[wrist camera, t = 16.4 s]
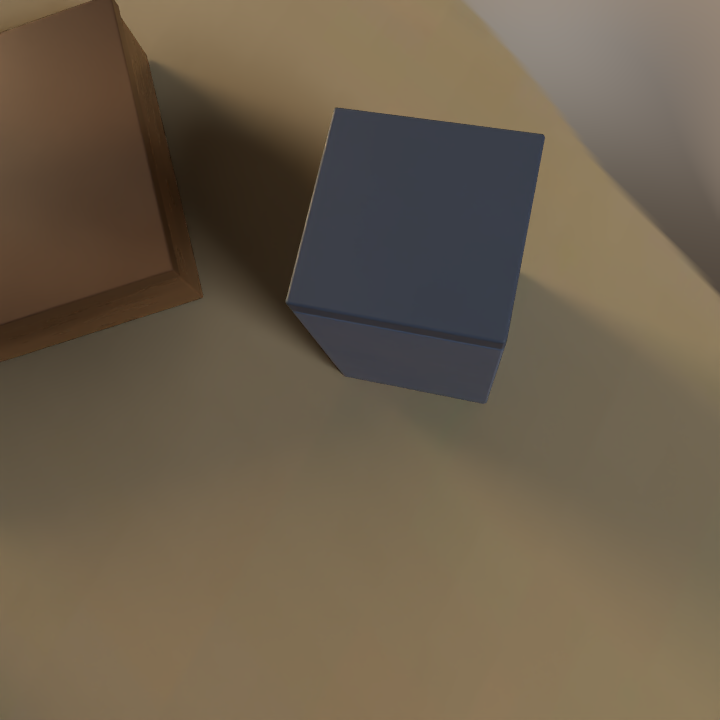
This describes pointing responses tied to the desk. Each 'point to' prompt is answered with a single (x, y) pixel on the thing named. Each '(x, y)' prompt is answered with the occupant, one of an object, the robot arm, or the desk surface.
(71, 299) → the brown flat block
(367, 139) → the small box
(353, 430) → the desk surface
